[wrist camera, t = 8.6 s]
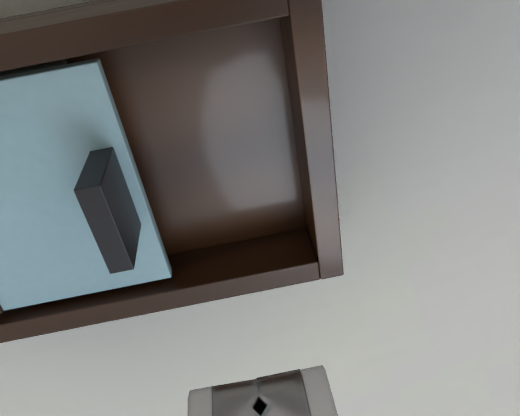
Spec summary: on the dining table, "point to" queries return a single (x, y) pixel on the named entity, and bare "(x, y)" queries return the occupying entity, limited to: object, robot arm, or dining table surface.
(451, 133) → the dining table surface
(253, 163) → the window frame
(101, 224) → the blue lid with handle
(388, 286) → the dining table surface
